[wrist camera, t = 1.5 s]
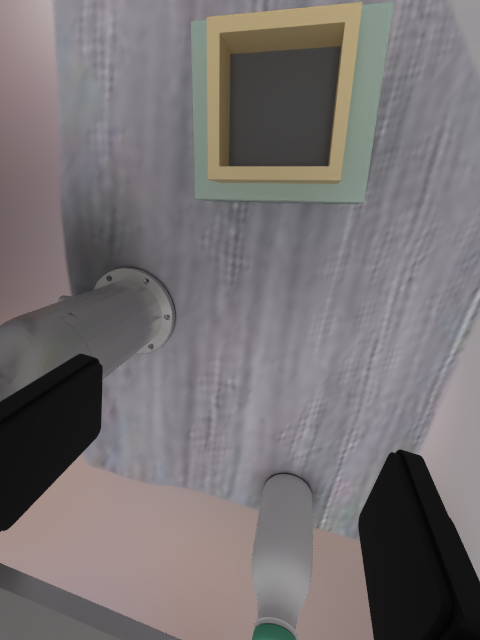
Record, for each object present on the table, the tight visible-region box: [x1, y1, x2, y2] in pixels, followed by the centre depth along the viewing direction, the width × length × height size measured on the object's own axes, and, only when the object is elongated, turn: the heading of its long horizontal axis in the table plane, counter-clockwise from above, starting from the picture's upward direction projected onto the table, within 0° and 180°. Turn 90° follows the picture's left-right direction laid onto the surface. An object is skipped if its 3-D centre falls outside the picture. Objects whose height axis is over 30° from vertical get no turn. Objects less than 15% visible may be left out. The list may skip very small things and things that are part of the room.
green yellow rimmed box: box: [191, 2, 394, 204], centre depth 29 cm, size 16×14×10 cm
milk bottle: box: [252, 474, 313, 640], centre depth 40 cm, size 8×8×20 cm
